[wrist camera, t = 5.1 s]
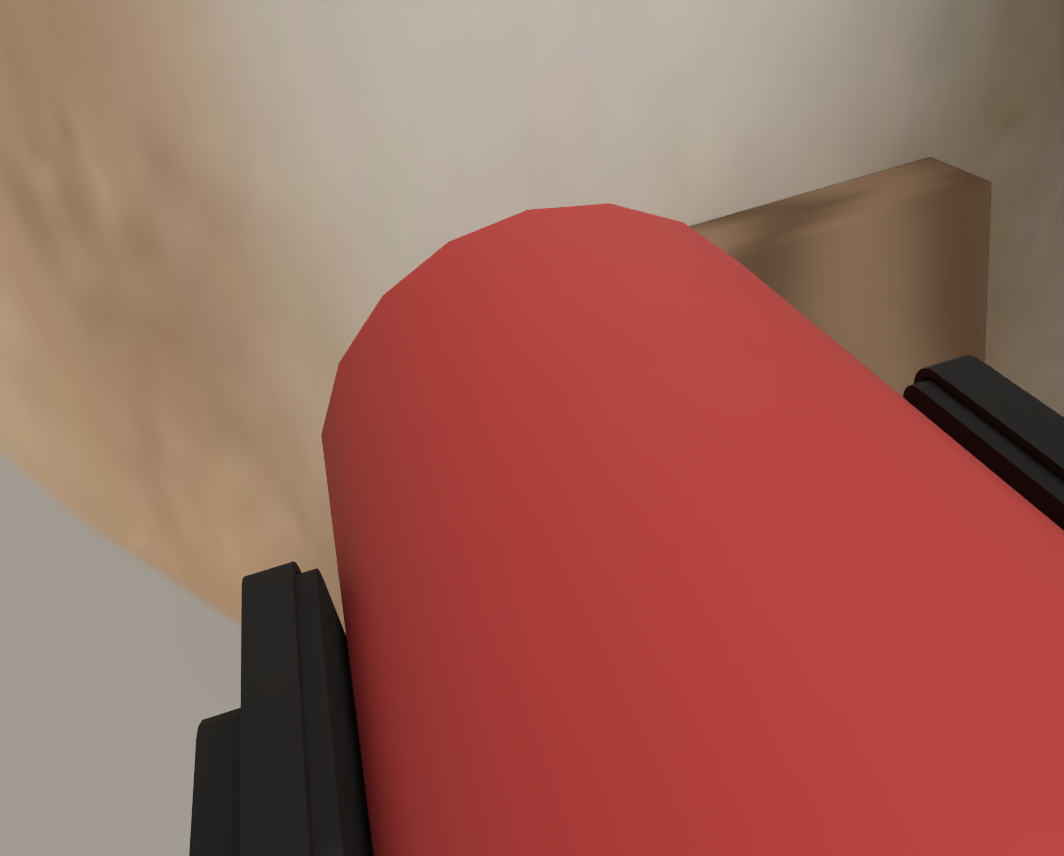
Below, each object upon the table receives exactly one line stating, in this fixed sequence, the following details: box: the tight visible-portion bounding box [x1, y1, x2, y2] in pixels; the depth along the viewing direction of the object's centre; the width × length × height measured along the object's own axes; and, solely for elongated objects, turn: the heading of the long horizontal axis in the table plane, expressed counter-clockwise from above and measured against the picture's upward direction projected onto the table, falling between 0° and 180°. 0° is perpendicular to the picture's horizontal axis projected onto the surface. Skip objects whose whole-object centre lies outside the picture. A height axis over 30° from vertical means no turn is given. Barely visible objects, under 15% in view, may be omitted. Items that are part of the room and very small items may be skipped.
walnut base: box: [690, 157, 991, 397], centre depth 33 cm, size 14×14×3 cm
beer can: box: [322, 204, 1064, 856], centre depth 9 cm, size 7×7×12 cm
